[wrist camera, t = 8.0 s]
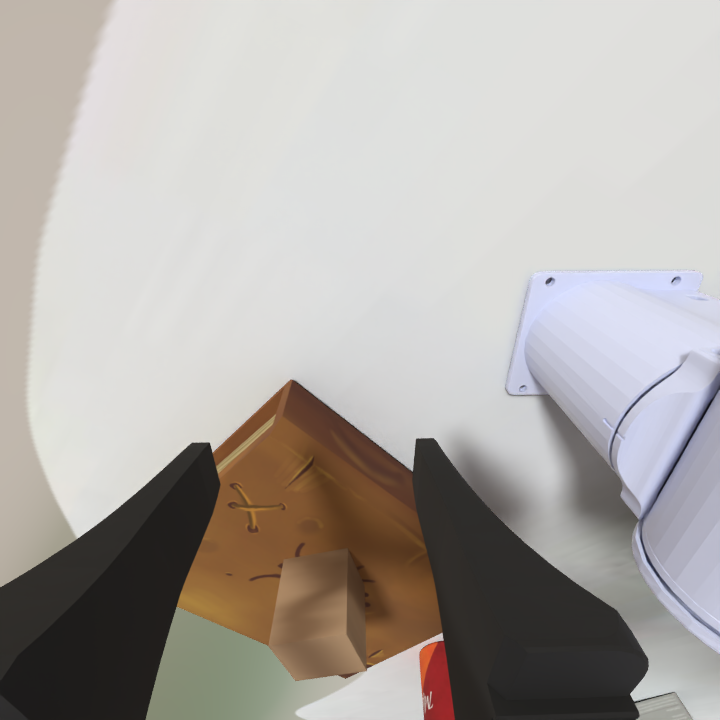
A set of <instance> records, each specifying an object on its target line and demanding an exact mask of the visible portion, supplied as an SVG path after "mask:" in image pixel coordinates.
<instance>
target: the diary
mask: <svg viewBox="0 0 720 720" xmlns="http://www.w3.org/2000/svg"><path fill="white" fill-rule="evenodd" d="M213 457H214V461H215V465H216V468H217V472H218V476H219V480H220V483H221V486H220V490H219V494H218V498H217V501H216V505H215V508H214V512H213V515H212V517H211V520H210V522H209V525H208V527H207V530H206V532H205V534H204V537H203V539H202V542H201V544H200V547H199V549H198V551H197V554H196V556H195V559H194V561H193V563H192V566H191V568H190V571H189V573H188V575H187V578H186V580H185V583H184V586H183V589H182V591H181V594H180V597H179V600H178V604H177V607H179V608H182V609H184V610H186V611H188V612H191V613H193V614H196V615H198V616H200V617H203V618H205V619H207V620H210V621H212V622H215V623H217V624H219V625H221V626H224V627H226V628H228V629H231V630H233V631H235V632H238V633H240V634H242V635H245V636H247V637H249V638H252V639H254V640H256V641H259V642H261V643H263V644H266V645H269V640H270V634H271V628H272V623H273V617H274V612H275V606H276V600H277V595H278V589H279V583H280V578H281V572H282V566H283V561H284V559H289V558H295V557H300V556H306V555H311V554H317V553H323V552H328V551H334V550H339V549H345V548H348V550H349V552H350V554H351V556H352V559H353V561H354V563H355V565H356V568H357V570H358V572H359V574H360V577H361V579H362V581H363V583H364V585H365V624H366V663H367V668H369V667H371V666H373V665H375V664H377V663H380V662H382V661H384V660H386V659H388V658H390V657H392V656H394V655H396V654H398V653H401V652H403V651H405V650H407V649H409V648H411V647H413V646H415V645H417V644H419V643H422V642H424V641H426V640H428V639H430V638H432V637H434V636H436V635H438V634H440V633H443V632H442V625H441V619H440V612H439V606H438V600H437V594H436V588H435V583H434V578H433V574H432V569H431V565H430V562H429V558H428V554H427V550H426V546H425V542H424V538H423V534H422V530H421V526H420V522H419V518H418V514H417V510H416V504H415V498H414V490H413V483H412V478H413V473H412V472H411V471H409V470H408V469H407V468H406V467H404V466H403V465H402V464H400V463H399V462H398V461H397V460H395V459H394V458H393V457H391V456H390V455H389V454H388V453H386V452H385V451H384V450H382V449H381V448H380V447H379V446H377V445H376V444H375V443H373V442H372V441H371V440H369V439H368V438H367V437H366V436H364V435H363V434H362V433H360V432H359V431H358V430H357V429H355V428H354V427H353V426H351V425H350V424H349V423H348V422H346V421H345V420H344V419H342V418H341V417H340V416H339V415H337V414H336V413H335V412H333V411H332V410H331V409H330V408H328V407H327V406H326V405H324V404H323V403H322V402H321V401H319V400H318V399H317V398H315V397H314V396H313V395H311V394H310V393H309V392H308V391H306V390H305V389H304V388H302V387H301V386H300V385H299V384H297V383H296V382H295V381H293V380H290V381H289V382H288V383H287V384H285V385H284V386H283V387H282V388H281V389H280V390H279V391H278V392H277V393H276V394H275V395H274V396H273V397H272V398H271V399H269V400H268V401H267V402H266V403H265V404H264V405H263V406H262V407H261V408H260V409H259V410H258V411H257V412H256V413H255V414H254V415H252V416H251V417H250V418H249V419H248V420H247V421H246V422H245V423H244V424H243V425H242V426H241V427H240V428H239V429H238V430H236V431H235V432H234V433H233V434H232V435H231V436H230V437H229V438H228V439H227V440H226V441H225V442H224V443H223V444H222V445H221V446H219V447H218V448H217V449H216V450H215V451H214V452H213ZM357 673H359V672H356V673H349V674H342V675H339V676H341V677H343V678H345V679H346V678H348V677H350V676H352V675H354V674H357Z"/></svg>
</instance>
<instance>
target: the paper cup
mask: <svg viewBox="0 0 720 720" xmlns="http://www.w3.org/2000/svg"><path fill="white" fill-rule="evenodd" d="M420 672H421V685H422V698H423V710H424V720H455V717H454V710H453V702H452V694H451V687H450V680H449V673H448V666H447V658H446V652H445V645H444V641H439V642H434V643H431V644H429V645H427V646H425V647H424V648H422V650H421V651H420Z"/></svg>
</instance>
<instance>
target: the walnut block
mask: <svg viewBox="0 0 720 720" xmlns="http://www.w3.org/2000/svg"><path fill="white" fill-rule="evenodd" d="M268 646H269V648H270V649H271V650H272V651H273V653H274V654H275V655H276V656H277V658H278V659H279V660H280V662H281V663H282V664H283V665H284V667H285V668H286V669H287V670H288V672H289V673H290V674H291V676H292V677H293V678H294V679H295V681H299V680H305V679H313V678H320V677H327V676H334V675H342V674H349V673H356V672H363V671H367V663H366V624H365V585H364V583H363V581H362V579H361V577H360V574H359V572H358V570H357V568H356V565H355V563H354V561H353V559H352V556H351V554H350V552H349V550H348V548H345V549H339V550H334V551H328V552H323V553H317V554H311V555H306V556H300V557H295V558H289V559H284V561H283V566H282V572H281V578H280V583H279V589H278V595H277V600H276V606H275V612H274V617H273V623H272V628H271V634H270V640H269V645H268Z"/></svg>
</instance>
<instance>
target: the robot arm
mask: <svg viewBox="0 0 720 720" xmlns="http://www.w3.org/2000/svg"><path fill="white" fill-rule="evenodd" d="M550 277H552V280H551V282H550V283H549V284H545V282H546V280H547V279H548V278H550ZM675 277H676V278H675ZM673 278H675V280H674V282H672V283H671V281H672V279H673ZM702 280H703V274H702V273H701V272H698V271H694V270H665V271H540V272H536V273H535V274H533V275H532V276H531V278H530V280H529V285H528V289H527V294H526V298H525V302H524V307H523V311H522V316H521V320H520V324H519V329H518V333H517V338H516V342H515V347H514V351H513V355H512V360H511V364H510V369H509V373H508V377H507V382H506V390H507V392H508V393H509V394H511V395H545V394H549V395H550V396H551V397H552V399H553V400H554V401H555V402H556V403H557V404H558V406H559V407H560V408H561V409H562V410H563V412H564V413H565V414H566V415H567V416H568V417H569V419H570V420H571V421H572V422H573V423H574V425H575V426H576V427H577V428H578V429H579V430H580V432H581V433H582V434H583V435H584V436H585V438H586V439H587V440H588V441H589V442H590V443H591V445H592V446H593V447H594V448H595V449H596V450H597V452H598V453H599V454H600V455H601V456H602V458H603V459H604V460H605V461H606V462H607V463H608V465H609V466H610V467H611V468H612V469H613V471H614V472H615V473H616V474H617V475H618V476H619V478H620V479H621V481H622V492H621V495H620V497H621V498H622V499H623V501H624V502H625V503H626V504H627V506H628V507H629V508H630V509H631V511H632V512H633V513H634V514H635V516H636V517H637V518H638V519H639V521H638V523H637V524H636V526H635V529H634V531H633V534H632V550H633V556H634V559H635V561H636V564H637V567H638V569H639V571H640V573H641V575H642V576H643V578H644V580H645V582H646V583H647V585H648V586H649V588H650V589H651V590H652V592H653V593H654V595H655V596H656V597H657V599H658V600H659V601H660V602H661V603H662V604H663V605H664V607H665V608H666V609H667V610H668V611H669V612H670V613H671V614H672V615H673V616H674V617H675V618H676V619H677V620H678V621H679V622H680V623H681V624H682V625H683V626H684V627H685V628H686V629H687V630H689V631H690V632H691V633H692V634H693V635H695V636H696V637H697V638H698V639H700V640H701V641H702V642H703V643H704V644H706V645H707V646H709V647H710V648H711V649H713V650H714V651H716V652H717V653H719V654H720V299H717V298H715V297H712V296H709V295H706V294H704V293H701V292H698V289H699V287H700V284H701V282H702ZM523 385H525V386H524V387H523V388H521V389H519V388H520V387H521V386H523ZM412 483H413V490H414V498H415V504H416V510H417V514H418V518H419V522H420V526H421V530H422V534H423V538H424V542H425V546H426V550H427V554H428V558H429V562H430V565H431V569H432V574H433V578H434V583H435V588H436V594H437V600H438V606H439V612H440V619H441V625H442V632H443V638H444V645H445V652H446V658H447V666H448V673H449V680H450V687H451V694H452V702H453V710H454V717H455V720H636V719H638V718H639V717H640V715H639V711H638V709H637V707H636V705H635V703H634V701H633V699H632V697H631V696H630V693H631V692H632V691H633V690H634V688H635V687H636V686H637V685H638V684H639V682H640V681H641V680H642V679H643V678H644V676H645V674H646V672H647V670H648V666H649V665H648V658H647V656H646V655H645V653H644V651H643V650H642V648H641V646H640V645H639V643H638V641H637V640H636V638H635V636H634V635H633V633H632V632H631V630H630V628H629V627H628V626H627V624H626V623H625V622H624V620H623V619H622V617H621V616H620V614H619V613H618V611H617V610H615V609H614V608H612V607H611V606H609V605H608V604H606V603H605V602H603V601H602V600H600V599H599V598H597V597H596V596H594V595H593V594H591V593H590V592H588V591H587V590H585V589H584V588H582V587H581V586H579V585H578V584H576V583H575V582H574V581H572V580H571V579H570V578H568V577H567V576H566V575H564V574H563V573H561V572H560V571H559V570H557V569H556V568H555V567H553V566H552V565H551V564H550V563H548V562H547V561H546V560H545V559H544V558H542V557H541V556H540V555H539V554H538V553H536V552H535V551H534V550H533V549H532V548H530V547H529V546H528V545H527V544H525V543H524V542H523V541H522V540H521V539H520V538H519V537H518V536H517V535H516V534H514V533H513V532H512V531H511V530H510V529H509V528H508V527H507V526H506V525H505V524H504V523H503V522H502V521H501V520H500V519H499V518H498V517H497V516H496V515H495V514H494V513H493V512H492V511H491V510H490V509H489V508H488V507H487V506H486V505H485V503H484V502H483V501H482V500H481V499H480V498H479V497H478V496H477V494H476V493H475V492H474V491H473V490H472V489H471V487H470V486H469V485H468V484H467V482H466V481H465V480H464V479H463V477H462V476H461V475H460V474H459V472H458V471H457V470H456V468H455V467H454V466H453V464H452V463H451V462H450V460H449V459H448V458H447V456H446V455H445V453H444V452H443V450H442V449H441V447H440V446H439V444H438V443H437V441H436V440H435V439H434V438H422V439H416V445H415V456H414V467H413V478H412ZM220 486H221V483H220V480H219V476H218V472H217V468H216V465H215V461H214V457H213V453H212V449H211V446H210V443H191V444H190V445H189V446H188V447H187V448H186V449H185V450H183V451H182V452H181V453H180V454H179V455H178V456H177V457H176V458H175V459H174V460H173V461H172V462H171V463H169V464H168V465H167V466H166V467H165V468H164V469H163V470H162V471H161V472H160V473H159V474H157V475H156V476H155V477H154V478H153V479H152V480H151V481H150V482H149V483H147V484H146V485H145V486H144V487H143V488H142V489H141V490H139V491H138V492H137V493H136V494H135V495H133V496H132V497H131V498H130V499H129V500H127V501H126V502H125V503H124V504H123V505H121V506H120V507H119V508H118V509H117V510H115V511H114V512H113V513H112V514H110V515H109V516H108V517H107V518H105V519H104V520H103V521H101V522H100V523H99V524H97V525H96V526H95V527H93V528H92V529H91V530H89V531H88V532H86V533H85V534H84V535H82V536H81V537H80V538H78V539H77V540H75V541H74V542H72V543H71V544H69V545H68V546H66V547H65V548H63V549H62V550H60V551H59V552H57V553H56V554H54V555H52V556H51V557H49V558H48V559H46V560H45V561H43V562H42V563H40V564H39V565H37V566H36V567H34V568H32V569H31V570H29V571H27V572H26V573H24V574H23V575H21V576H19V577H18V578H16V579H14V580H13V581H11V582H9V583H7V584H6V585H4V586H2V587H0V720H145V719H146V715H147V711H148V707H149V703H150V699H151V695H152V691H153V688H154V684H155V680H156V676H157V672H158V668H159V665H160V661H161V657H162V654H163V651H164V647H165V643H166V640H167V636H168V633H169V629H170V626H171V623H172V619H173V617H174V613H175V610H176V607H177V604H178V600H179V597H180V594H181V591H182V589H183V586H184V583H185V580H186V578H187V575H188V573H189V571H190V568H191V566H192V563H193V561H194V559H195V556H196V554H197V551H198V549H199V547H200V544H201V542H202V539H203V537H204V534H205V532H206V530H207V527H208V525H209V522H210V520H211V517H212V515H213V512H214V508H215V505H216V501H217V498H218V494H219V490H220Z"/></svg>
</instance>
